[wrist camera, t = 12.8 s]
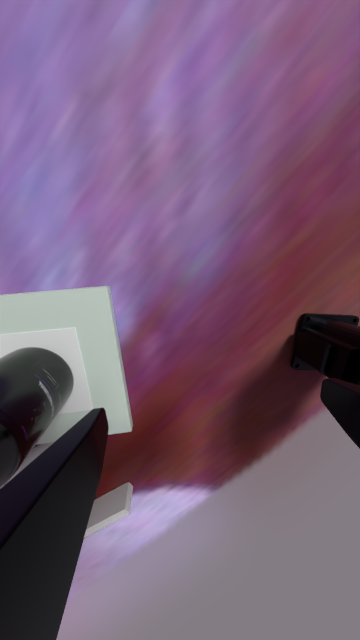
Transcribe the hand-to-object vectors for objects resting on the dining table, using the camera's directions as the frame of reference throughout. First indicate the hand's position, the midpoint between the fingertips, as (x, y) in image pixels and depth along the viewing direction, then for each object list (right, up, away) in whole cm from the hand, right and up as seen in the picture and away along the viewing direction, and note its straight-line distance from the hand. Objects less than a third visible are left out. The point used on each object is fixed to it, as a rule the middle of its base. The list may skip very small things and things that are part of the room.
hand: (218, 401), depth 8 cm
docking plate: (-16, -2, +12) cm, 20 cm away
